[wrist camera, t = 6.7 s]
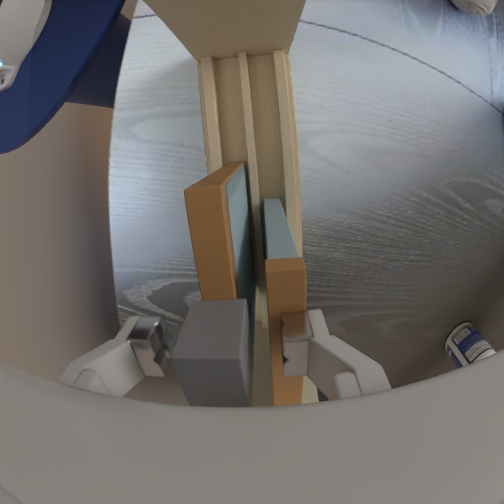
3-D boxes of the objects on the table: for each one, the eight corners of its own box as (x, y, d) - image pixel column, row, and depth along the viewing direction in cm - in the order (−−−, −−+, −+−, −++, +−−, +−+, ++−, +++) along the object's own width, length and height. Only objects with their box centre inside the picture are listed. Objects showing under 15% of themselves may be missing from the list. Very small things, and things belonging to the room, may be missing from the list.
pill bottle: (462, 348, 29) (492, 391, 20) (438, 353, 29) (468, 401, 20) (476, 319, 27) (512, 361, 18) (453, 322, 27) (490, 370, 18)
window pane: (237, 289, 24) (214, 458, 9) (223, 163, 20) (128, 217, 5) (260, 288, 24) (259, 459, 9) (249, 161, 20) (220, 206, 5)
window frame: (232, 325, 27) (214, 448, 14) (200, 52, 18) (129, -38, 4) (300, 321, 27) (322, 444, 14) (284, 44, 17) (314, -62, 4)
